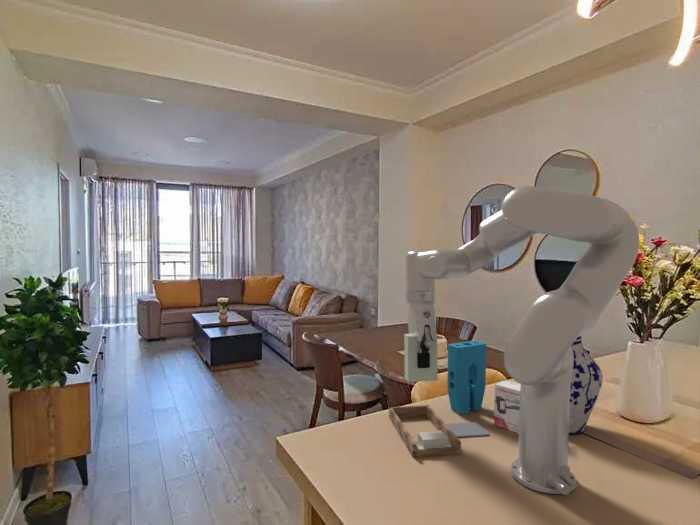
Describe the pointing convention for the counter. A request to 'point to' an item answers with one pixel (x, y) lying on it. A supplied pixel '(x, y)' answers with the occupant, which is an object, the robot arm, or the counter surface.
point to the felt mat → (467, 429)
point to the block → (466, 375)
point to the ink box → (507, 405)
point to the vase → (583, 388)
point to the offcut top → (432, 439)
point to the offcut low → (419, 446)
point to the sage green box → (411, 361)
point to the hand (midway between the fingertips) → (421, 364)
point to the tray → (435, 420)
